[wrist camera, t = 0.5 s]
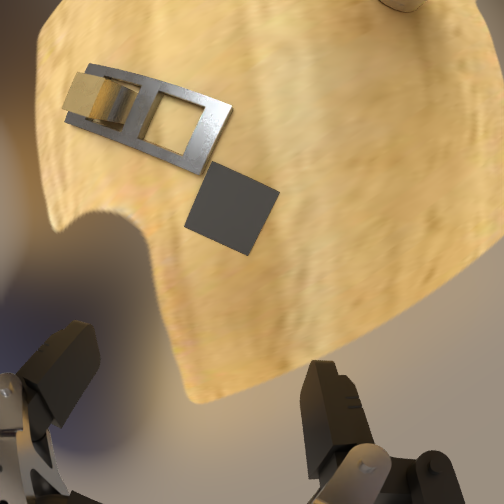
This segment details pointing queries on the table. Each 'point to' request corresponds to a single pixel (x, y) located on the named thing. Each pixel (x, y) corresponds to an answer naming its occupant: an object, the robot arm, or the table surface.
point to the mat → (231, 208)
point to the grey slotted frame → (143, 114)
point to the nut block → (99, 98)
